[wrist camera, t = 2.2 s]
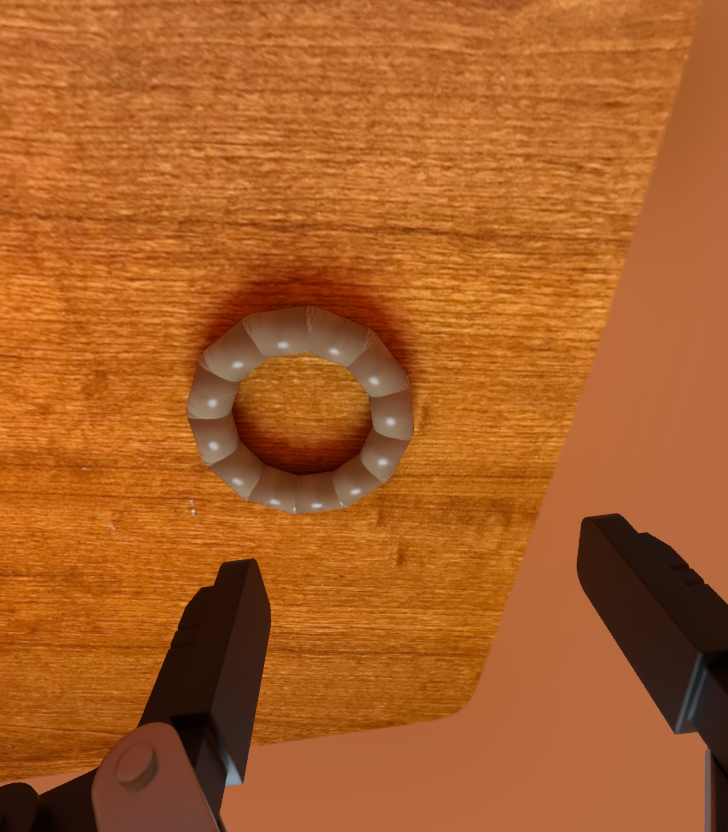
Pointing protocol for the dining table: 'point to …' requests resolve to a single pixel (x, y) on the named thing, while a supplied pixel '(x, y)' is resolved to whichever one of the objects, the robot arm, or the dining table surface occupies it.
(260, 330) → the beige segmented ring
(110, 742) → the dining table surface
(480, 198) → the dining table surface
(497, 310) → the dining table surface
